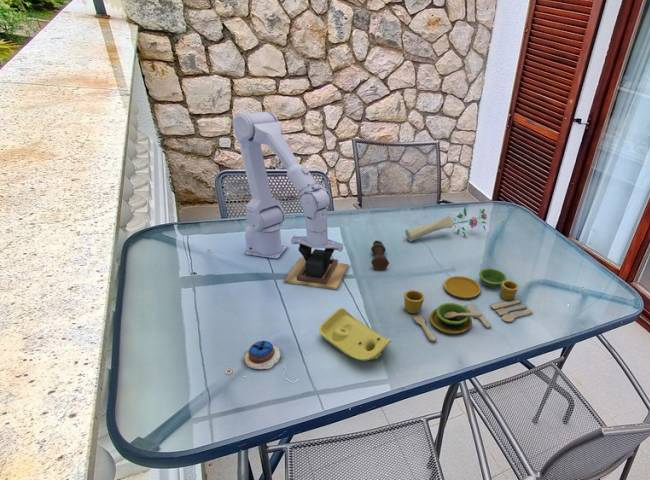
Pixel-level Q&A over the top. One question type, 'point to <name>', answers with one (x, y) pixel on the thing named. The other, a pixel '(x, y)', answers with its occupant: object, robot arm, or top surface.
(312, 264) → the black rectangular block
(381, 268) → the brown figurine
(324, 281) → the mount plate
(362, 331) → the plastic component
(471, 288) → the tableware set
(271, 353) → the dessert
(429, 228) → the flower vase
